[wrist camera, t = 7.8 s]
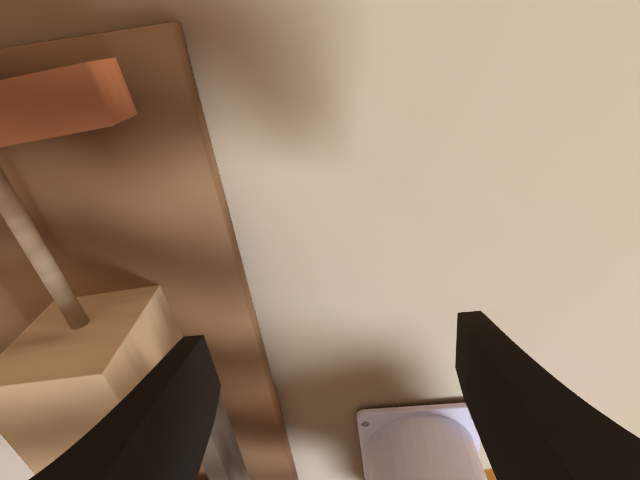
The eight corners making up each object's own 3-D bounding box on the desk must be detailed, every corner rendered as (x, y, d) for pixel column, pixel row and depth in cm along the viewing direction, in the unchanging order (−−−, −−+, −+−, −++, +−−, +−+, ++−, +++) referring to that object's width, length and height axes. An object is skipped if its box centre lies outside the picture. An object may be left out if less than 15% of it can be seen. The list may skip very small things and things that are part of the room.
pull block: (246, 362, 23) (221, 461, 18) (57, 385, 25) (-18, 484, 19) (134, 54, 16) (33, 69, 10) (-133, 110, 17) (-344, 150, 12)
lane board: (301, 490, 31) (297, 542, 28) (104, 500, 32) (80, 551, 29) (180, 22, 16) (143, 21, 13) (-179, 76, 17) (-290, 88, 14)
